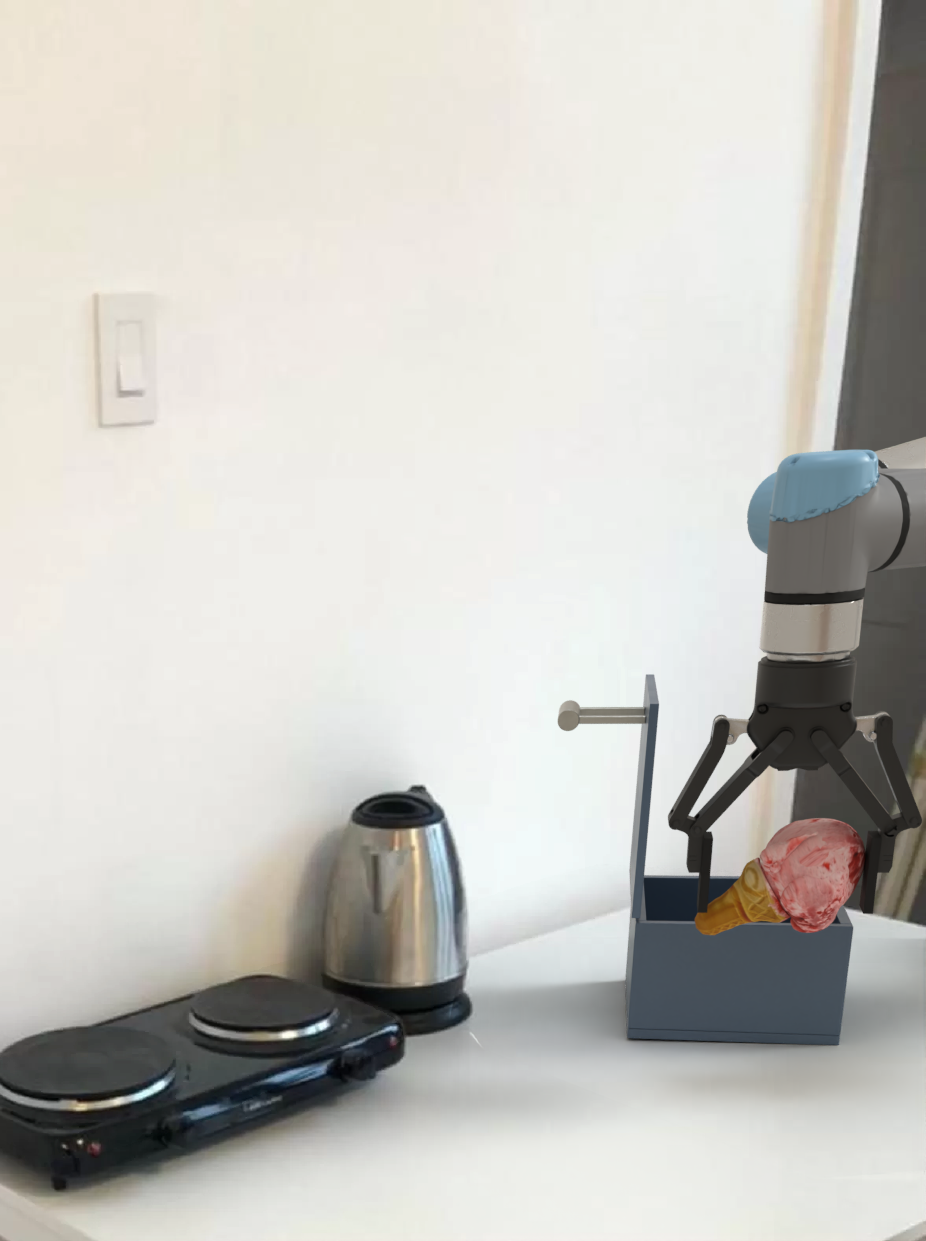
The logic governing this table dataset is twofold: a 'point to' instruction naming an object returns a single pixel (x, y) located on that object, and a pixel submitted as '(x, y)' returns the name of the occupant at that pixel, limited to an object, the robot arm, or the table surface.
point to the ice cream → (793, 879)
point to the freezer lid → (648, 718)
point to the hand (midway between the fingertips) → (782, 909)
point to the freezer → (731, 973)
